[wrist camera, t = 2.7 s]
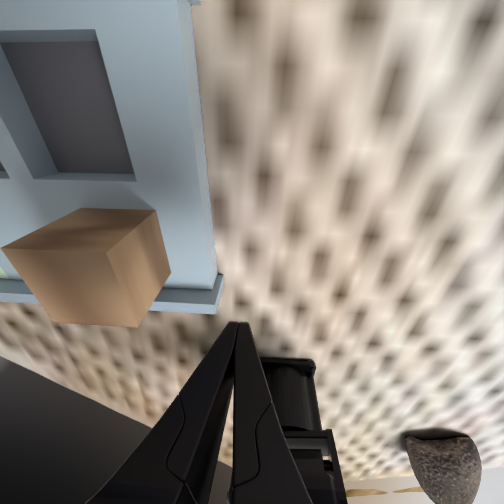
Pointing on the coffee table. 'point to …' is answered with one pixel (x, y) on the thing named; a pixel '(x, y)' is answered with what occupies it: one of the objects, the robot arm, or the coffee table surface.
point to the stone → (446, 468)
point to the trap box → (106, 131)
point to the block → (94, 265)
